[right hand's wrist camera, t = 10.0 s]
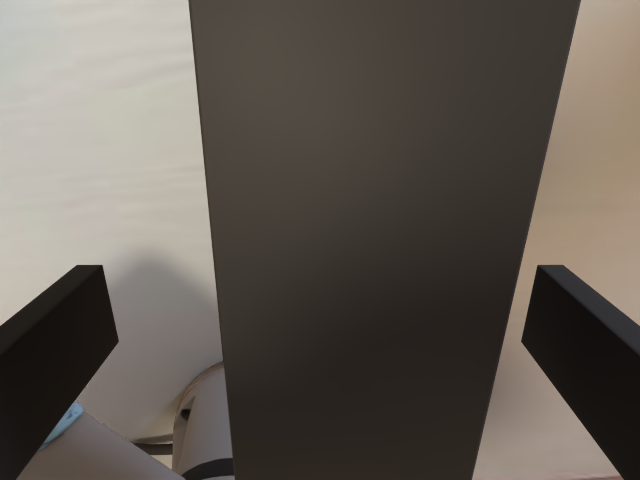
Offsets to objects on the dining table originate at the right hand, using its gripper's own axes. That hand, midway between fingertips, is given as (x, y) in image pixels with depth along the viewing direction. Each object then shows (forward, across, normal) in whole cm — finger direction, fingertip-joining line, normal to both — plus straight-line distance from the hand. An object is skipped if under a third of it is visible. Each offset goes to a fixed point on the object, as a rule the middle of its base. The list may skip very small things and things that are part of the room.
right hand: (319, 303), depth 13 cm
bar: (+3, -1, -12) cm, 13 cm away
